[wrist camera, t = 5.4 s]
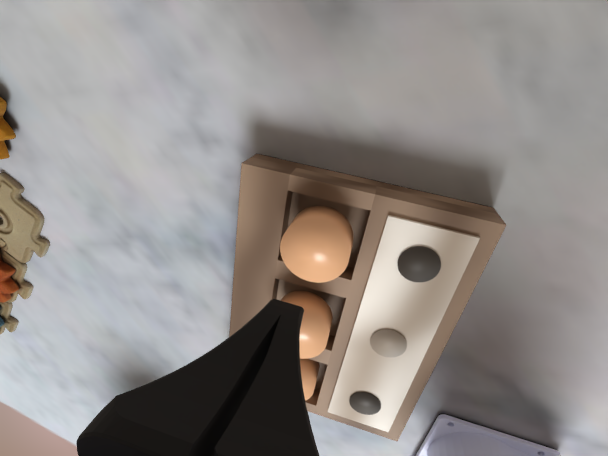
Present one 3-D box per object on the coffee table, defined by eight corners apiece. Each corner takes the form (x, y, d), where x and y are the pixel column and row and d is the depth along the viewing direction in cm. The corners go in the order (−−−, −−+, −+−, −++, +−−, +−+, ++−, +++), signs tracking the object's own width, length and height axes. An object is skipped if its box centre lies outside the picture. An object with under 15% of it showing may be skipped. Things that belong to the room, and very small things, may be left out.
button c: (323, 352, 26) (318, 375, 24) (315, 385, 28) (309, 408, 26) (276, 338, 27) (267, 358, 25) (271, 370, 29) (262, 392, 27)
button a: (360, 214, 19) (356, 231, 17) (345, 270, 21) (341, 290, 19) (295, 198, 20) (284, 212, 18) (286, 254, 22) (276, 272, 20)
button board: (493, 207, 20) (508, 227, 17) (396, 413, 29) (397, 445, 26) (256, 153, 22) (239, 164, 19) (237, 361, 31) (224, 386, 28)
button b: (337, 300, 22) (332, 322, 20) (326, 341, 24) (320, 365, 22) (281, 284, 23) (271, 303, 21) (275, 326, 25) (265, 348, 23)
